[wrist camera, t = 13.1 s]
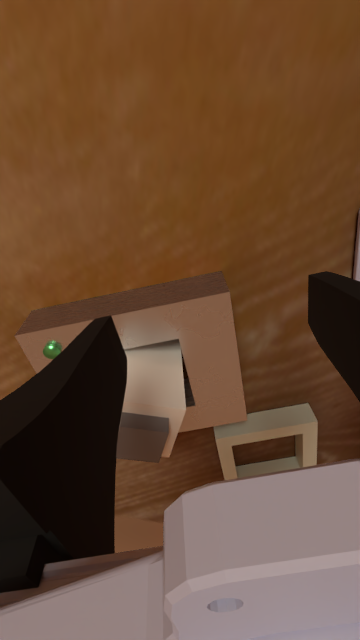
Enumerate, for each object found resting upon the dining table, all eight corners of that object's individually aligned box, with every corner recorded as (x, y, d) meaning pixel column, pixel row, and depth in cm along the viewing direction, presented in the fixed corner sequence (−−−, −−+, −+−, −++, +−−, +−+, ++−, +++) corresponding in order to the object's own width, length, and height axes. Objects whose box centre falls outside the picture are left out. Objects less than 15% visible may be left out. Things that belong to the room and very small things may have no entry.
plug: (179, 337, 24) (187, 424, 17) (167, 379, 26) (169, 472, 19) (122, 327, 23) (106, 413, 16) (114, 371, 25) (96, 465, 18)
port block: (221, 271, 21) (230, 294, 18) (239, 391, 27) (248, 423, 24) (31, 310, 22) (12, 338, 19) (88, 419, 28) (80, 453, 25)
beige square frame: (308, 403, 28) (317, 421, 26) (307, 461, 32) (315, 480, 31) (212, 420, 28) (215, 439, 27) (224, 475, 33) (227, 494, 31)
